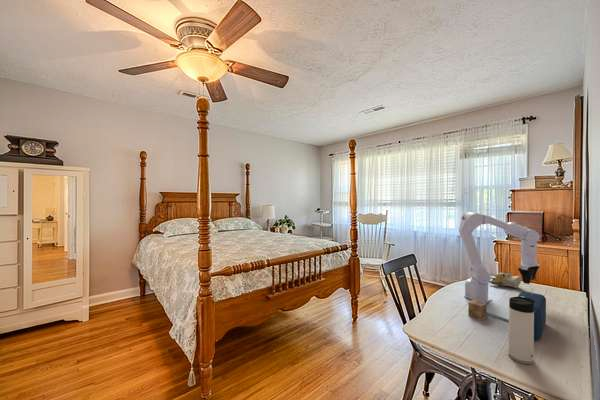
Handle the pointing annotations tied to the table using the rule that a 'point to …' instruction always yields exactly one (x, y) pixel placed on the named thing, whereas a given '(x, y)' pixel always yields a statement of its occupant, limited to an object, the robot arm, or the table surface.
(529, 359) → the travel mug
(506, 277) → the ceramic sculpture
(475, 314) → the walnut block
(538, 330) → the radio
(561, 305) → the table surface
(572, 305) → the table surface
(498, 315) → the board
